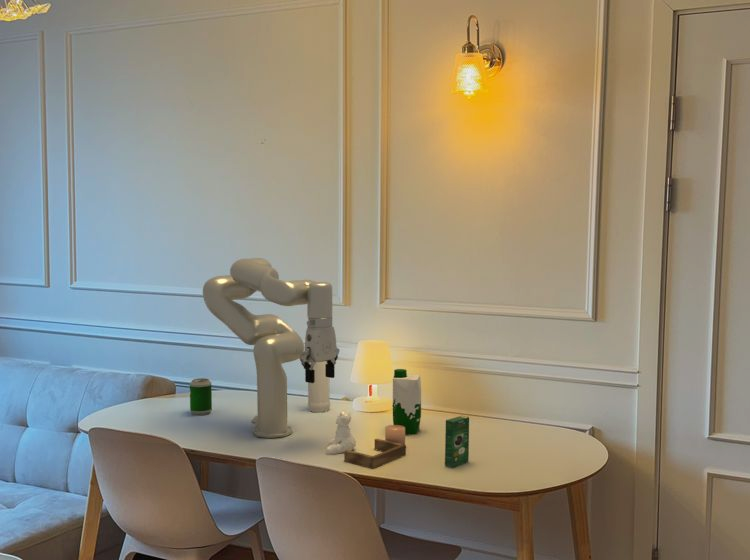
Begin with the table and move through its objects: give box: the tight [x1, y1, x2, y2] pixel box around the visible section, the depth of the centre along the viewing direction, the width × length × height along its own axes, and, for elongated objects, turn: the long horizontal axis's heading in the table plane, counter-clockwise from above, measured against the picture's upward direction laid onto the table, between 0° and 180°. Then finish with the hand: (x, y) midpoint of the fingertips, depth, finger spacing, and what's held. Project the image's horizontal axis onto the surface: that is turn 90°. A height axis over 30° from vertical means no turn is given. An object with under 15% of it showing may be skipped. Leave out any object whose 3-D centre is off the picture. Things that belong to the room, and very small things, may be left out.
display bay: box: [343, 438, 407, 470], centre depth 214 cm, size 11×15×3 cm
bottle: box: [307, 361, 331, 413], centre depth 268 cm, size 8×8×30 cm
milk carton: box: [392, 368, 422, 435], centre depth 241 cm, size 9×9×20 cm
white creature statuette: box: [325, 410, 357, 455], centre depth 222 cm, size 10×9×12 cm
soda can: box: [189, 377, 213, 417], centre depth 264 cm, size 8×8×12 cm
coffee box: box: [444, 415, 470, 469], centre depth 209 cm, size 8×3×13 cm, turn 137°
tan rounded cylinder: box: [384, 424, 406, 445], centre depth 225 cm, size 6×6×6 cm
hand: (320, 379), depth 226 cm, fingers open, 8 cm apart
